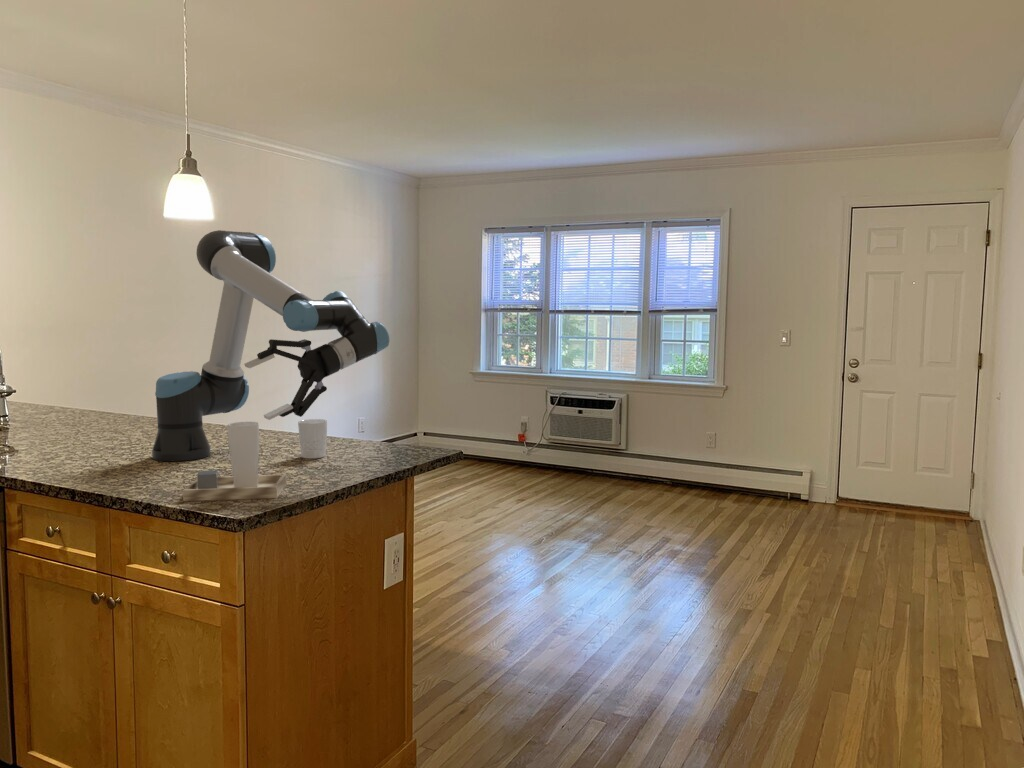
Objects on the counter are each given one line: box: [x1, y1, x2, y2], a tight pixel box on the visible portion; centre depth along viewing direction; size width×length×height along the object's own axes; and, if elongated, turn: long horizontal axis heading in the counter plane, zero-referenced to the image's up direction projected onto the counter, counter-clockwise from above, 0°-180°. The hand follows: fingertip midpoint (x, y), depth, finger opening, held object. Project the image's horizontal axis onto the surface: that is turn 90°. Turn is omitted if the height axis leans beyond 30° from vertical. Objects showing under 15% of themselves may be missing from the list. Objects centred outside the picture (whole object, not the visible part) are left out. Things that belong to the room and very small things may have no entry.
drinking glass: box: [227, 421, 260, 488], centre depth 182 cm, size 7×7×15 cm
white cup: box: [297, 418, 328, 459], centre depth 223 cm, size 8×8×10 cm
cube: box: [196, 469, 219, 489], centre depth 181 cm, size 4×4×4 cm
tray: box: [182, 474, 288, 502], centre depth 182 cm, size 20×13×2 cm, turn 97°
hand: (256, 392), depth 188 cm, fingers open, 13 cm apart
